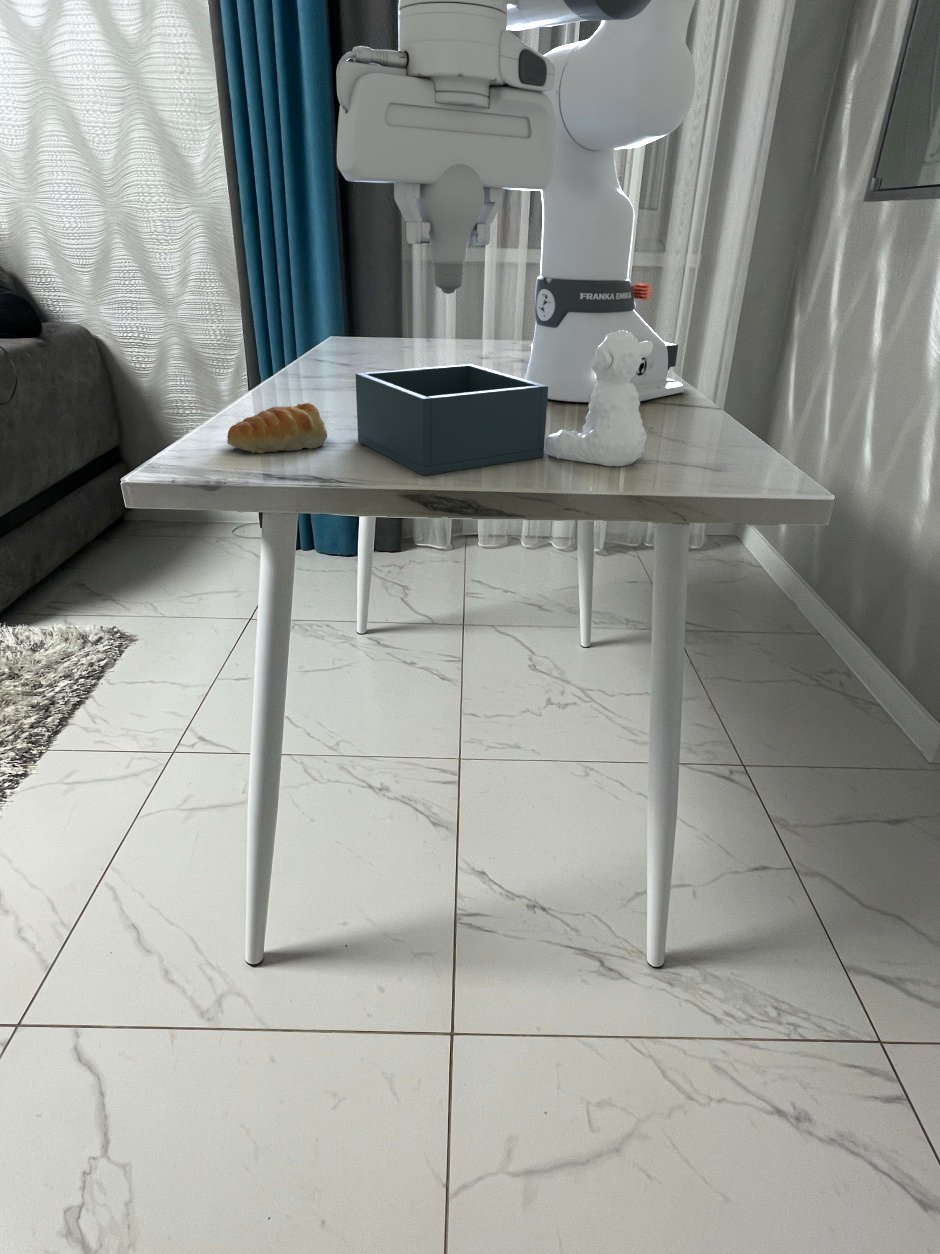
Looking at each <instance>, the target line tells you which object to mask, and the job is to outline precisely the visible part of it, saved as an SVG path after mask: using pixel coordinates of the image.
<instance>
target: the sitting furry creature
mask: <svg viewBox="0 0 940 1254" xmlns="http://www.w3.org/2000/svg"><path fill="white" fill-rule="evenodd" d="M652 350H653V343H652V341H644V342H640V343H638V339H637V338H635V337H634V336H633V335H632V333H627V332H626V331H624V330H622V331H617V332H612V333H611V334H610V333H608V334H607V335H606V339H605V340H604V342H603V343H602V344H601V345H600V346H598V348H597V350H596V354H595V357H594V360H593V362H592V364H591V368H592V369H593V370H594V371H595V374H596V379H597V381H598V383H596V384H595V389H594V390H593V393H592V395H591V402H588V406H587V407H588V409H589V411H588V412H587V415H585V421H586V422H585V423H584V424H583V426H582V431H581V432H580V433H579V432H578V431H577V430H575V429H573V430H569V431H568V430H566V429H560V430H559V431H558V432H554V433H552V434H551V433H550V434H549V435H547V436H546V438H545V443H544V451H545V452H546V455H548V456H550V457H553V458H556V459H558V460H559V459H563V460H567V461H575V462H580V463H586V464H587V463H588V464H595V465H600V466H605V467H623V466H624V467H625V466H629V465H632V464H634V463H635V462H636V461H637V460H638V459H640V458H641V457H642V456H643V453H644V452H645V451H646V450H645V446H646V445H647V444H646V441H647V437H648V434H647V432H646V429H645V427H644V425H643V422H644V420H643V419H642V417H641V412H640V410H639V409H640V405H641V401H639V400H638V396H639V395H638V392H637V391H636V388H635V386H634V384H632V383H630V379H631V378H632V377H634V375H635V373H636V372H637V370H638V369H639V366H640V364H641V361H642V358H643V357H646V356H648V355H650V354H651V352H652Z"/></svg>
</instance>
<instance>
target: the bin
mask: <svg viewBox="0 0 940 1254" xmlns="http://www.w3.org/2000/svg"><path fill="white" fill-rule="evenodd" d="M354 375H355V396H356V398H355V399H356V420H357V422H356V423H357V442H358V443H359V444H362V445H363V446H366V447H368V448H369V449H370V450H371V449H372V450H373V451H375V452H377V453H379V454H381V455H383V456H385V457H387V458H389V459H391V460H393V461H395V462H396V463H398V464H401V465H402V466H404V467H406V468H408V469H410V470H412V471H414V472H416V473H417V474H420V475H421V476H429V475H435V474H436V475H437V474H443V473H450V472H456V471H462V470H468V469H475V468H480V467H481V468H482V467H488V466H493V465H500V464H508V463H513V462H519V461H526V460H533V459H538V458H539V459H540V458H544V456H545V443H546V427H547V412H548V400H549V399H548V386H546V385H542V384H539V383H535V382H532V381H528V380H525V378H522V377H517V376H514V375H510V374H508V373H503V372H500V371H497V370H493V369H489V368H486V367H482V366H479V365H476V364H472V363H468V364H467V363H466V364H454V365H442V366H441V365H440V366H431V367H418V368H416V367H415V368H405V369H392V370H381V371H368V372H358V373H357V372H356V373H355V374H354Z"/></svg>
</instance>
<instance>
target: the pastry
mask: <svg viewBox="0 0 940 1254" xmlns="http://www.w3.org/2000/svg"><path fill="white" fill-rule="evenodd" d="M226 439H227V440H226V441H227V442H226V443H227V445H229V446H232V447H234V448H238V449H240V450H243V451H248V452H251V454H254V453H258V454H264V453H267V452H270V453H271V452H273V453H277V452H281V451H283V452H284V451H286V452H290V451H291V452H292V451H300V450H302V449H305V448H307V449H308V450H309V449H310V450H311V449H316V448H319V447H321V446H323V445H325V441H326V440H327V439H328V431H327V428H326V425H325V422H324V420H323V419H322V417H321V415H320V411H319V409H318V408H317V407H316V406H315V405H314V404H312V403H311V402H307V403H298V404H296V405H295V406H294V405H293V406H292V405H288V406H287V405H285V406H284V405H282V406H272V407H270V408H267V409H266V410H262V411H260V412H258V413H257V414H255V415H252V416H250V417H249V416H248V417H246V418H244V419H243V420H241V421H238V422H236V423H235V424H232V425H231V426H230V428H229V429H228V432H227V438H226Z"/></svg>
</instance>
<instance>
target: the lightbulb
mask: <svg viewBox="0 0 940 1254" xmlns="http://www.w3.org/2000/svg"><path fill="white" fill-rule="evenodd" d="M414 201H415V203H416V206H417V208H418V211H419V213H420V216H421V218H422V222H431V231H430V232H429V234H430V236H431V238H430V243H429V247H430V258H431V261H432V262H433V273H434V275H433V278H434V285H435V287H436V288H438V289H440V290H441V292H442V293H444V294H447V295H449V294H453V293H455V292H456V290H457V289H459V288H461V287H462V285H463V275H464V265H465V262H466V260H467V251H468V245H469V244H468V241H469V238H470V235H471V232H472V230H473V228H474V226H475V224H476V222H477V220H478V218H479V216H480V213H481V211H482V208H483V204H484V189H483V185H482V182H481V179H480V177H479V176H478V174H477V173H476V172H475V171H474V170H473V169H472V168H471V167H469V166H467V165H463V164H456V165H453V166H450V167H449V168H448V169H447V170H446V171H445V172H444V173H443V174H442V176H441V177H440V178H439V179H438V181H437V182H436V183H434V184H420V198H419V199H414Z"/></svg>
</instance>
